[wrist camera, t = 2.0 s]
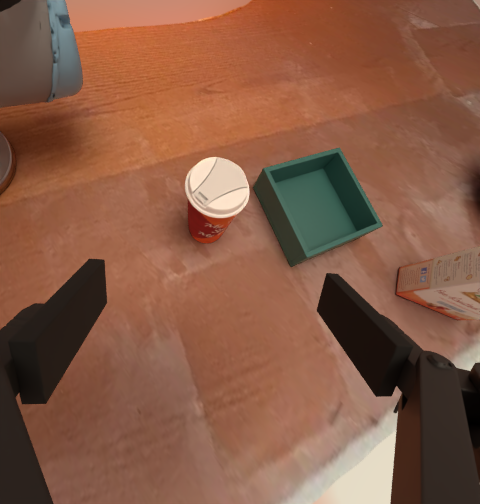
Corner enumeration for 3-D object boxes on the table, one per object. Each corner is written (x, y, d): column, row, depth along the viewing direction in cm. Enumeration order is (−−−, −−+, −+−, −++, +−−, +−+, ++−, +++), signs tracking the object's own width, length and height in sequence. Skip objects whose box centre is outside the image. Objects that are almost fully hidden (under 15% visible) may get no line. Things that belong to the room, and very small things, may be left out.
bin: (252, 187, 48) (263, 168, 42) (321, 166, 53) (339, 147, 47) (290, 267, 45) (307, 257, 39) (359, 237, 50) (383, 225, 44)
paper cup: (205, 259, 42) (220, 226, 29) (171, 225, 42) (170, 177, 29) (239, 228, 45) (266, 185, 32) (206, 196, 45) (220, 141, 32)
